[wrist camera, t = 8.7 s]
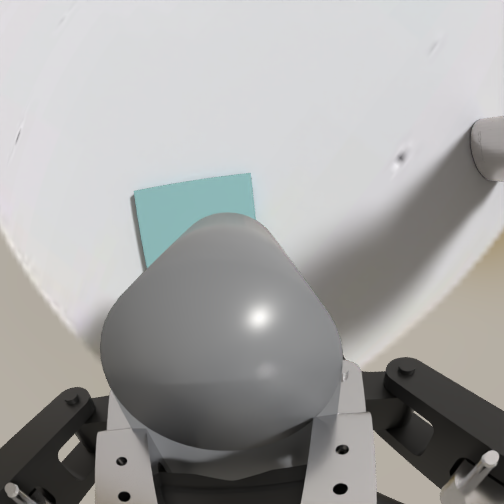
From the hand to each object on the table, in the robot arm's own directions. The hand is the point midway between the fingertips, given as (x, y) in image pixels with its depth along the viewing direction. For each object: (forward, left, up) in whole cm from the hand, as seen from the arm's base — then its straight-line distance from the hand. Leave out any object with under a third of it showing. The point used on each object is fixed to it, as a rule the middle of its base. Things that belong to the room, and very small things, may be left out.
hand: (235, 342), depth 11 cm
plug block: (0, 0, -1) cm, 1 cm away
